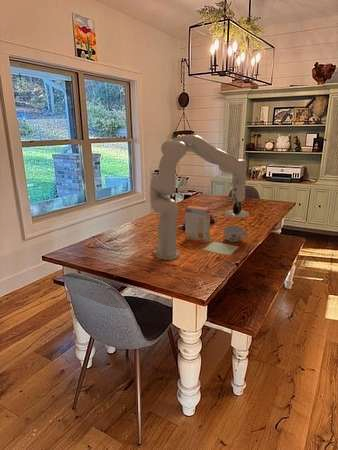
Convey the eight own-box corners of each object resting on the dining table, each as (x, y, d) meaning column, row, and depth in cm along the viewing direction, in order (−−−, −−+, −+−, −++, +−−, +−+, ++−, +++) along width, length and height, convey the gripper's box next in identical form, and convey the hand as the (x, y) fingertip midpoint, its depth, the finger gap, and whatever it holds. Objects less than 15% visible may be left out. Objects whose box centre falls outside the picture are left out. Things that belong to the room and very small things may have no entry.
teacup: (219, 242, 189) (220, 229, 187) (226, 236, 200) (226, 224, 198) (244, 246, 183) (245, 233, 180) (249, 240, 193) (250, 227, 191)
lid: (221, 215, 185) (221, 205, 183) (230, 210, 196) (230, 200, 194) (244, 219, 177) (244, 208, 175) (252, 213, 188) (253, 203, 187)
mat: (202, 249, 178) (202, 249, 178) (213, 242, 190) (213, 241, 190) (229, 255, 169) (229, 255, 169) (239, 247, 181) (239, 246, 181)
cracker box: (209, 241, 191) (211, 207, 185) (204, 244, 187) (205, 209, 181) (190, 237, 199) (190, 204, 193) (184, 239, 195) (185, 206, 188)
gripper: (239, 183, 172) (237, 216, 178) (250, 179, 185) (247, 210, 191) (226, 182, 176) (225, 214, 182) (237, 178, 189) (236, 208, 195)
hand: (236, 212), depth 186 cm, fingers closed on lid, 3 cm apart
